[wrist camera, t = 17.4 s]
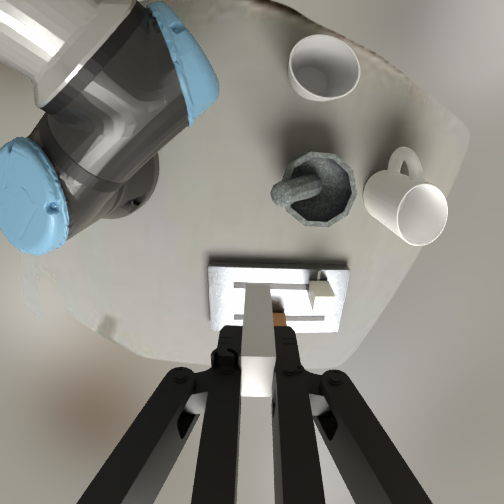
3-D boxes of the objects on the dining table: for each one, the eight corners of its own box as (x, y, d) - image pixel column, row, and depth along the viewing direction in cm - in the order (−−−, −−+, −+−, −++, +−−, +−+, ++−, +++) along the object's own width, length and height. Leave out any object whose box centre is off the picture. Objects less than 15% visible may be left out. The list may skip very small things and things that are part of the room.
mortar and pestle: (345, 153, 40) (376, 160, 28) (339, 214, 43) (365, 242, 32) (268, 147, 40) (273, 150, 28) (265, 210, 43) (268, 237, 32)
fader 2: (307, 295, 46) (312, 312, 41) (309, 280, 45) (315, 296, 40) (326, 295, 46) (332, 311, 41) (328, 281, 45) (335, 296, 40)
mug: (410, 146, 39) (454, 153, 27) (406, 219, 43) (445, 245, 32) (363, 142, 39) (399, 146, 28) (361, 219, 43) (393, 247, 32)
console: (212, 323, 51) (211, 330, 49) (209, 261, 46) (207, 266, 44) (335, 325, 51) (337, 332, 49) (346, 265, 46) (350, 270, 44)
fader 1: (265, 325, 48) (266, 343, 43) (266, 312, 47) (267, 330, 42) (283, 325, 48) (286, 344, 43) (285, 313, 47) (287, 330, 42)
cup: (329, 115, 38) (350, 109, 28) (274, 97, 37) (280, 85, 28) (343, 67, 35) (366, 50, 25) (289, 49, 34) (299, 25, 25)
